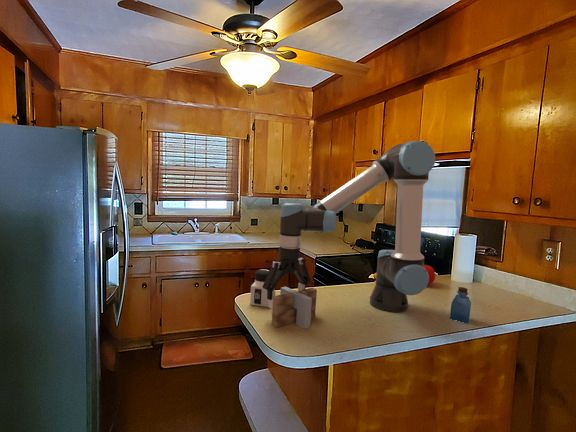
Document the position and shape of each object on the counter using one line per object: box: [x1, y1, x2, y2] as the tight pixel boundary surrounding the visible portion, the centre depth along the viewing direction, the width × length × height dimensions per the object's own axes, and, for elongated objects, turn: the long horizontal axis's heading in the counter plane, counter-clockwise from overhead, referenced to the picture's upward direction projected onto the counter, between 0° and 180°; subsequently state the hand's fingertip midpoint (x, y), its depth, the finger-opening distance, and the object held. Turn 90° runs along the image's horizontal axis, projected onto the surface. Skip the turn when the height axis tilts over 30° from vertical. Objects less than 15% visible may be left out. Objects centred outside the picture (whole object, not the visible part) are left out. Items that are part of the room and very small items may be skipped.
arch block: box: [279, 286, 312, 329], centre depth 118 cm, size 14×2×10 cm, turn 39°
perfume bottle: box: [449, 286, 472, 324], centre depth 127 cm, size 6×6×12 cm
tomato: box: [424, 263, 436, 286], centre depth 170 cm, size 11×12×10 cm
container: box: [249, 268, 272, 308], centre depth 133 cm, size 8×8×13 cm
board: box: [271, 287, 318, 328], centre depth 118 cm, size 18×2×10 cm, turn 129°
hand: (286, 304), depth 121 cm, fingers open, 13 cm apart
